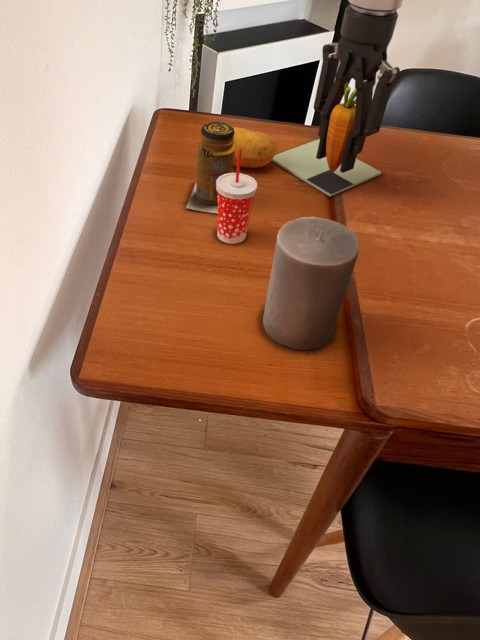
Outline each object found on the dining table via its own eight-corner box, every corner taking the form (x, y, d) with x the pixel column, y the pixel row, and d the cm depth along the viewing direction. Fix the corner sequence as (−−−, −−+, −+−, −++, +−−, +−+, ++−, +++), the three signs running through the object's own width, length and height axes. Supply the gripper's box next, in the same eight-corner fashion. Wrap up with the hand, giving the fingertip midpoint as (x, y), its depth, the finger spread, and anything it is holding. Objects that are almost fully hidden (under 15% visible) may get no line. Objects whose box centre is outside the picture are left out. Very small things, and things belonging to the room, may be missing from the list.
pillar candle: (345, 343, 69) (380, 248, 58) (277, 357, 67) (298, 261, 56) (315, 296, 75) (340, 201, 64) (251, 307, 73) (265, 211, 62)
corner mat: (380, 174, 99) (381, 171, 99) (330, 196, 93) (330, 193, 93) (319, 140, 107) (319, 138, 107) (268, 159, 101) (269, 156, 101)
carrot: (316, 164, 96) (336, 75, 84) (343, 166, 96) (367, 77, 84) (319, 178, 92) (340, 87, 81) (347, 180, 92) (372, 89, 81)
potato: (266, 181, 96) (271, 145, 90) (196, 164, 99) (198, 128, 94) (279, 163, 100) (284, 127, 95) (212, 146, 103) (214, 111, 98)
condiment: (235, 189, 93) (242, 121, 84) (228, 215, 88) (235, 145, 79) (195, 184, 94) (198, 115, 85) (185, 209, 89) (187, 138, 79)
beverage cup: (226, 219, 87) (233, 135, 76) (257, 233, 85) (270, 148, 74) (204, 236, 84) (209, 151, 73) (237, 251, 81) (247, 165, 71)
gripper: (309, -6, 78) (283, 148, 96) (407, 30, 69) (359, 192, 87) (343, -12, 81) (312, 137, 99) (441, 21, 72) (388, 179, 90)
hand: (334, 162), depth 93 cm, fingers closed on carrot, 5 cm apart
